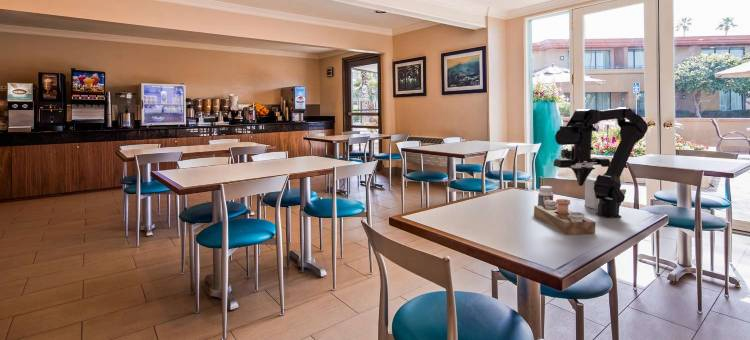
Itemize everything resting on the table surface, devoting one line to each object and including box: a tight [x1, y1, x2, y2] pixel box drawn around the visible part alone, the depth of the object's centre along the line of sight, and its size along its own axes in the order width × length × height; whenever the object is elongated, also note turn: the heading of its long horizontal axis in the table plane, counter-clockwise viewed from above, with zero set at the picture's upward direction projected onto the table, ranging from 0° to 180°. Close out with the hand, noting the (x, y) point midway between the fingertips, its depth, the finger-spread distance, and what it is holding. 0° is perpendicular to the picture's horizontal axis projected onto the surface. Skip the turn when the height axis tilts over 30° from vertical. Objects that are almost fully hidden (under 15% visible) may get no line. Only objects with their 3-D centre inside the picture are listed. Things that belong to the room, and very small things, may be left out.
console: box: [533, 205, 597, 235], centre depth 151 cm, size 10×25×4 cm, turn 3°
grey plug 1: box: [544, 199, 557, 209], centre depth 160 cm, size 5×5×6 cm
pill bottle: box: [537, 185, 554, 206], centre depth 170 cm, size 6×6×10 cm
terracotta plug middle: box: [555, 198, 571, 215], centre depth 150 cm, size 5×5×6 cm
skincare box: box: [584, 177, 599, 210], centre depth 174 cm, size 6×4×12 cm
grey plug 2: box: [569, 211, 585, 222], centre depth 141 cm, size 5×5×6 cm
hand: (580, 185), depth 154 cm, fingers closed
